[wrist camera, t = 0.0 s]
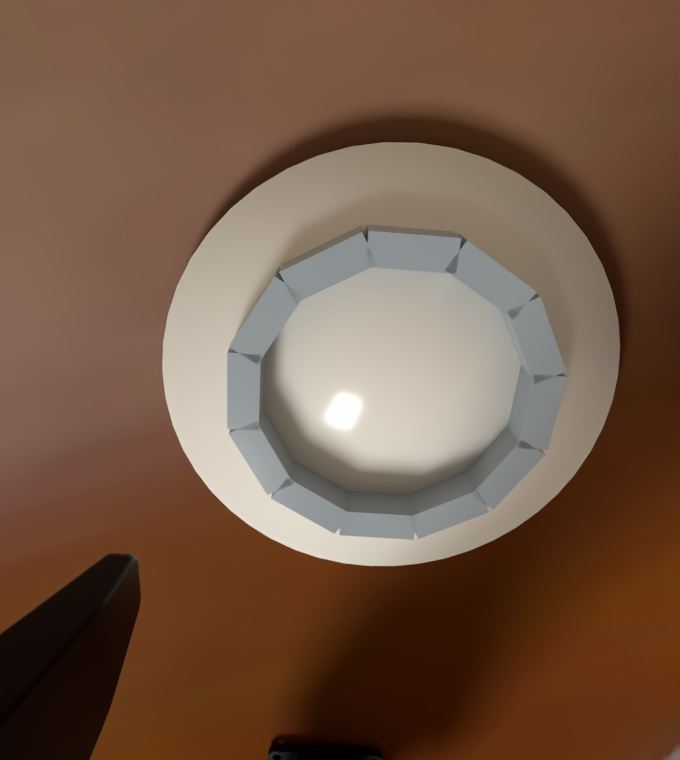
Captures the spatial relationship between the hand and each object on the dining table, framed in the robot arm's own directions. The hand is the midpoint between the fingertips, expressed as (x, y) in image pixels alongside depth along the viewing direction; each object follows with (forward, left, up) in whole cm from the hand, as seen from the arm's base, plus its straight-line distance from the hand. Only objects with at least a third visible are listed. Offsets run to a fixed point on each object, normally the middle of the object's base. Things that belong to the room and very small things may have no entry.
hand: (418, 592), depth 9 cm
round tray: (-2, -1, -15) cm, 15 cm away
